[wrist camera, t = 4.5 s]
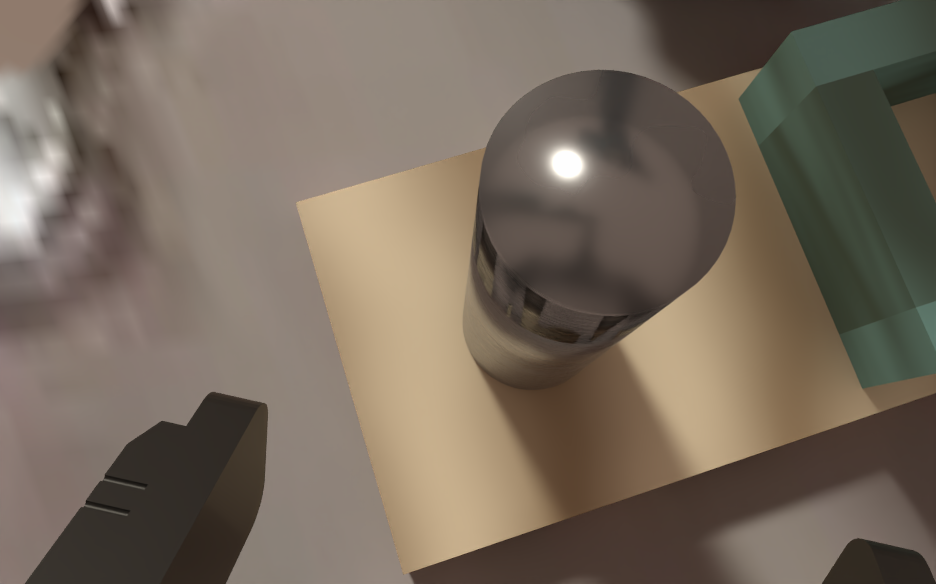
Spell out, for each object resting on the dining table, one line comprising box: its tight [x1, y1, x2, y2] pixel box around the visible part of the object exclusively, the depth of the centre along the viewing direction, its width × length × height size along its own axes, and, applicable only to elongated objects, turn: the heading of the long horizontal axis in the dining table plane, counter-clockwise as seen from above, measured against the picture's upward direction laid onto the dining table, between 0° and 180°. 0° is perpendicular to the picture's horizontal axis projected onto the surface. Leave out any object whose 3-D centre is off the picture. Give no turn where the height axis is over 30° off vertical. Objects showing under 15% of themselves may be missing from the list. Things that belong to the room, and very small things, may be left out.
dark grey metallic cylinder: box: [462, 70, 736, 390], centre depth 16 cm, size 4×4×10 cm
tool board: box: [296, 0, 936, 574], centre depth 20 cm, size 22×10×5 cm, turn 108°
